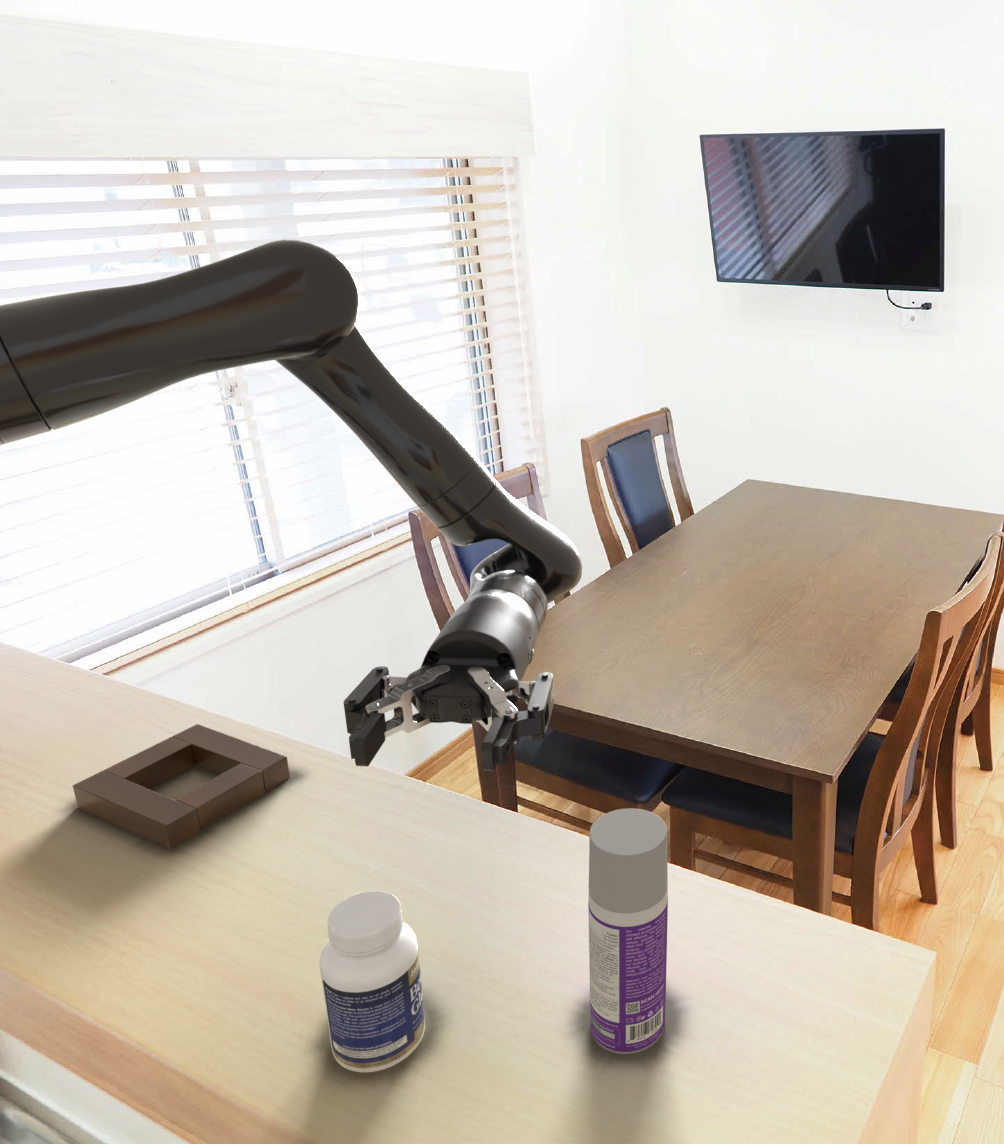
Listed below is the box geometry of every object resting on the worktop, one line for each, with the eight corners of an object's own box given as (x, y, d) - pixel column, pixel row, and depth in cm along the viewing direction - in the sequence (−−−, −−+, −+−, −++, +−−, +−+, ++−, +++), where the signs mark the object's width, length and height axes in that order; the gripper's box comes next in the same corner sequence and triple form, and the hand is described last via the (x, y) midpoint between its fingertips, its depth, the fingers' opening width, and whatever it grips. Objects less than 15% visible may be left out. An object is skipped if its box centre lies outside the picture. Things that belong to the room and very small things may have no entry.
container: (667, 999, 63) (671, 807, 58) (662, 1059, 59) (666, 858, 54) (595, 998, 63) (593, 805, 58) (585, 1058, 59) (581, 856, 53)
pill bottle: (435, 1054, 59) (423, 926, 55) (340, 1091, 56) (321, 959, 52) (415, 993, 63) (402, 871, 59) (325, 1025, 60) (306, 898, 57)
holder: (172, 852, 74) (166, 825, 73) (78, 811, 78) (72, 785, 77) (290, 781, 84) (287, 756, 83) (201, 747, 88) (197, 723, 87)
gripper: (393, 604, 78) (309, 705, 63) (570, 611, 79) (527, 712, 64) (402, 686, 81) (323, 801, 66) (572, 692, 82) (532, 807, 67)
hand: (423, 757), depth 65 cm, fingers open, 8 cm apart
